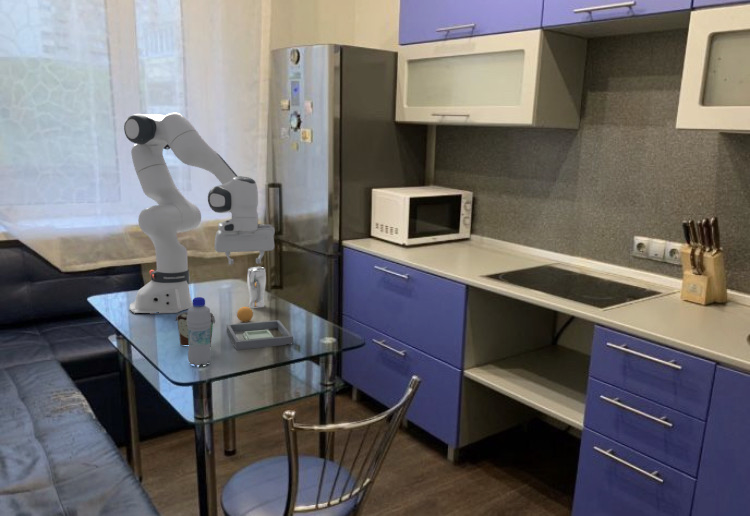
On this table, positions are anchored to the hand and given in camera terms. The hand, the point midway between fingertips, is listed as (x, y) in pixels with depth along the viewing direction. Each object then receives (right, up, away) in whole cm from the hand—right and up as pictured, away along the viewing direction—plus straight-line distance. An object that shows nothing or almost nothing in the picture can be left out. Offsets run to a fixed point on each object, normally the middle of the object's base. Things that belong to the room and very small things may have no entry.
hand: (244, 263), depth 204 cm
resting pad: (+7, -24, -12) cm, 28 cm away
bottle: (-5, -29, -36) cm, 46 cm away
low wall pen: (+7, -24, -12) cm, 28 cm away
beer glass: (-1, -17, +24) cm, 29 cm away
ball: (-1, -18, +4) cm, 18 cm away
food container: (-10, -25, -19) cm, 33 cm away
